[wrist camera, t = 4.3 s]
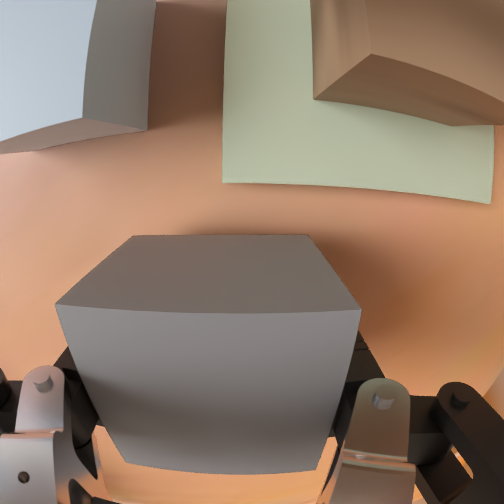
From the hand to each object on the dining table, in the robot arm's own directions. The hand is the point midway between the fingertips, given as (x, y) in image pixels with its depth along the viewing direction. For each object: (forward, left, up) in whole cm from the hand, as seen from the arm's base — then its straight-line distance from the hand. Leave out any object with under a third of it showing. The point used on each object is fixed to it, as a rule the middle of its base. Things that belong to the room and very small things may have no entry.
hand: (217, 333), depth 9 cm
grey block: (0, 0, -1) cm, 1 cm away
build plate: (-11, +6, -3) cm, 13 cm away
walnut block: (-11, +6, -2) cm, 12 cm away
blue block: (-10, -6, -3) cm, 12 cm away
